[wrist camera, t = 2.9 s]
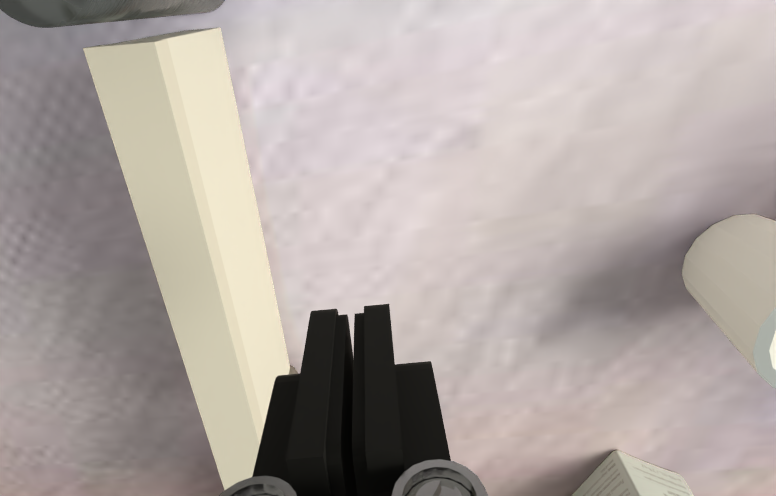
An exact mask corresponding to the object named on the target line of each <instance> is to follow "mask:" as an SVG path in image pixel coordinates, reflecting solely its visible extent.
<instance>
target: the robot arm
mask: <svg viewBox="0 0 776 496" xmlns="http://www.w3.org/2000/svg"><path fill="white" fill-rule="evenodd" d="M219 496H488V494H487V492H486V489H485V487H484V486H483V484H482V483H481V481H480V479H479V478H478V476H477V475H475V474H474V473H473V472H472V471H471V470H469V469H468V468H467V467H465V466H463V465H461V464H458V463H456V462H454V461H451V459H450V454H449V449H448V444H447V439H446V434H445V429H444V424H443V419H442V414H441V409H440V404H439V399H438V394H437V389H436V383H435V378H434V373H433V368H432V364H431V361H429V362H418V363H408V364H397V365H395V363H394V353H393V342H392V331H391V320H390V310H389V304H384V305H373V306H364V313H359V314H355V323H354V360H353V352H352V344H351V337H350V329H349V322H348V316H347V315H338V311H337V309H329V310H318V311H311V314H310V320H309V326H308V331H307V337H306V343H305V349H304V355H303V361H302V367H301V373H300V374H289V375H279V376H277V377H276V379H275V382H274V386H273V390H272V395H271V399H270V403H269V407H268V412H267V416H266V420H265V424H264V429H263V433H262V437H261V442H260V446H259V450H258V454H257V459H256V463H255V467H254V472H253V476H252V477H251V478H248V479H245V480H242V481H240V482H237V483H236V484H234V485H232V486H231V487H229V488H228V489H226V490H224V491H223V492H222V493H221V494H220V495H219Z"/></svg>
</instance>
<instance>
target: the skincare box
mask: <svg viewBox="0 0 776 496" xmlns="http://www.w3.org/2000/svg"><path fill="white" fill-rule="evenodd" d="M571 496H694V495H693V493H692V491H691V490H690V488H689V487H688V485H687V484H686V482H685V480H684V479H683V477H682V476H681V475H679V474H677V473H675V472H671V471H668V470H666V469H663V468H660V467H657V466H655V465H652V464H650V463H647V462H644V461H642V460H640V459H637V458H635V457H632V456H630V455H628V454H626V453H624V452H621V451H619V450H616V451H613V452H612V453H611V454H610V455H609V456H608V457H607V458H606V459H605V460H604V461H603V462H602V463H601V464H600V465H599V466H598V467H597V468H596V469H595V471H594V472H593V473H592V474H591V475H590V476H589V477H588V478H587V479H586V480H585V481H584V482H583V484H582V485H581V486H580V487H579V488H578V489H577V490H576V491H575V492H574V493H573V494H572V495H571Z"/></svg>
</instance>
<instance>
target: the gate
mask: <svg viewBox="0 0 776 496" xmlns="http://www.w3.org/2000/svg"><path fill="white" fill-rule="evenodd" d="M83 50H84V53H85V56H86V59H87V63H88V66H89V69H90V72H91V75H92V78H93V81H94V84H95V88H96V91H97V94H98V97H99V100H100V103H101V106H102V109H103V112H104V116H105V119H106V122H107V125H108V128H109V131H110V134H111V137H112V141H113V144H114V147H115V150H116V153H117V156H118V159H119V162H120V166H121V169H122V172H123V175H124V178H125V181H126V184H127V187H128V191H129V194H130V197H131V200H132V203H133V206H134V209H135V212H136V216H137V219H138V222H139V225H140V228H141V231H142V234H143V237H144V240H145V244H146V247H147V250H148V253H149V256H150V259H151V262H152V265H153V269H154V272H155V275H156V278H157V281H158V284H159V287H160V290H161V294H162V297H163V300H164V303H165V306H166V309H167V312H168V315H169V319H170V322H171V325H172V328H173V331H174V334H175V337H176V340H177V344H178V347H179V350H180V353H181V356H182V359H183V362H184V365H185V368H186V372H187V375H188V378H189V381H190V384H191V387H192V390H193V393H194V397H195V400H196V403H197V406H198V409H199V412H200V415H201V418H202V422H203V425H204V428H205V431H206V434H207V437H208V440H209V443H210V447H211V450H212V453H213V456H214V459H215V462H216V465H217V468H218V471H219V475H220V478H221V481H222V484H223V487H224V490H226V489H228V488H229V487H231V486H232V485H234V484H236V483H237V482H240V481H242V480H245V479H248V478H251V477H252V476H253V472H254V467H255V463H256V459H257V454H258V450H259V446H260V442H261V437H262V433H263V429H264V424H265V420H266V416H267V412H268V407H269V403H270V399H271V395H272V390H273V386H274V382H275V379H276V377H277V376H279V375H289V374H298V373H297V371H296V369H295V368H294V367H293V366H291V365H290V364H289V359H288V355H287V350H286V345H285V340H284V335H283V330H282V325H281V320H280V316H279V311H278V306H277V301H276V296H275V291H274V286H273V281H272V277H271V272H270V267H269V262H268V257H267V252H266V247H265V242H264V238H263V233H262V228H261V223H260V218H259V213H258V208H257V203H256V199H255V194H254V189H253V184H252V179H251V174H250V169H249V164H248V160H247V155H246V150H245V145H244V140H243V135H242V130H241V125H240V121H239V116H238V111H237V106H236V101H235V96H234V91H233V86H232V82H231V77H230V72H229V67H228V62H227V57H226V52H225V47H224V43H223V38H222V33H221V28H209V29H197V30H186V31H180V32H174V33H169V34H163V35H158V36H152V37H147V38H141V39H136V40H130V41H125V42H119V43H114V44H108V45H98V46H93V47H87V48H83Z"/></svg>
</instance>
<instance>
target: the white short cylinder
mask: <svg viewBox="0 0 776 496" xmlns="http://www.w3.org/2000/svg"><path fill="white" fill-rule="evenodd" d="M682 277H683V280H684V284H685V287H686V289H687V290H688V291H689V292H690V294H691V295H692V296H693V297H694V298H695V300H696V301H697V302H698V303H699V304H700V306H701V307H702V308H703V309H704V310H705V312H706V313H707V314H708V315H709V316H710V317H711V319H712V320H713V321H714V322H715V323H716V325H717V326H718V327H719V328H720V329H721V331H722V332H723V333H724V334H725V335H726V336H727V338H728V339H729V340H730V341H731V342H732V344H733V345H734V346H735V347H736V348H737V350H738V351H739V352H740V353H741V354H742V355H743V357H744V358H745V359H746V360H747V361H748V363H749V364H750V365H751V366H752V367H753V369H754V370H755V371H756V372H757V373H758V374H759V375H760V376H761V377H762V378H763V379H764V380H765V381H766V382H767V383H769V384H770V385H771V386H772V387H773V388H776V221H774V220H772V219H769V218H766V217H763V216H760V215H757V214H745V215H734V216H732V217H729V218H727V219H725V220H722V221H720V222H718V223H715V224H713V225H712V226H711V227H710V228H708V229H707V230H706V231H705V232H703V233H702V234H701V235H700V236H699V237H697V238H696V240H695V241H694V243H693V244H692V246H691V247H690V249H689V250H688V252H687V253H686V255H685V258H684V263H683V268H682Z"/></svg>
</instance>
